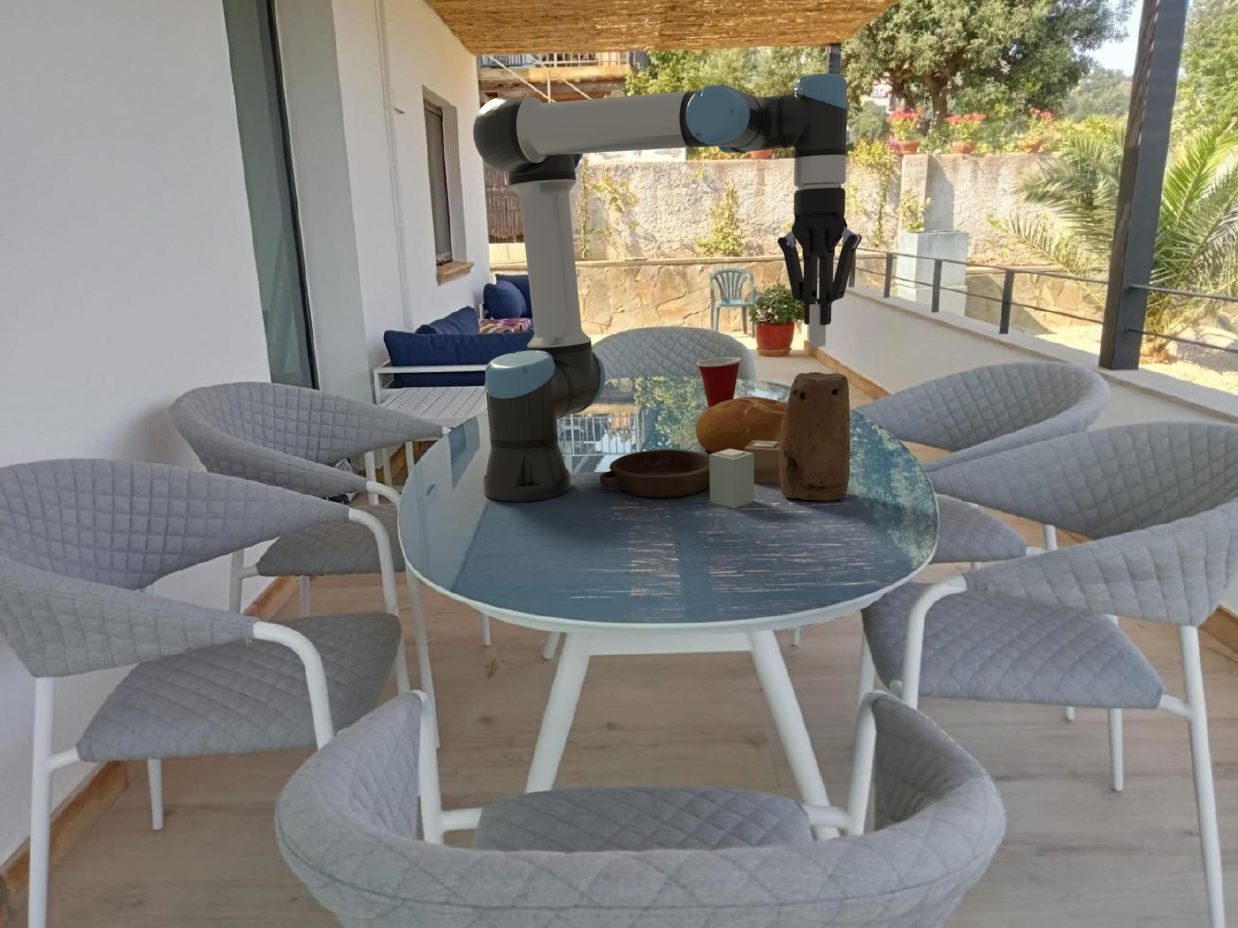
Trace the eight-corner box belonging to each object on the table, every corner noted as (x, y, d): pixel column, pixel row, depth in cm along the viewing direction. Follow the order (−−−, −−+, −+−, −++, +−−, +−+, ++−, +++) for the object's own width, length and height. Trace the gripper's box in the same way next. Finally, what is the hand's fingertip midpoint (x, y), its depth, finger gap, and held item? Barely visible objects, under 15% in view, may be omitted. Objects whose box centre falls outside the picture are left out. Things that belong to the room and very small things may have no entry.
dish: (602, 477, 160) (601, 450, 158) (723, 473, 159) (723, 446, 158) (597, 506, 143) (596, 476, 142) (733, 502, 142) (733, 472, 141)
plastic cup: (696, 404, 220) (695, 356, 217) (739, 403, 220) (739, 355, 217) (697, 413, 210) (696, 363, 207) (743, 411, 209) (742, 362, 206)
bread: (806, 466, 161) (807, 413, 158) (683, 460, 169) (682, 409, 166) (820, 437, 182) (821, 390, 179) (710, 433, 189) (710, 388, 187)
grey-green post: (733, 508, 138) (733, 457, 136) (710, 502, 142) (709, 452, 140) (753, 501, 141) (753, 451, 139) (730, 495, 145) (729, 446, 143)
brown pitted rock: (844, 489, 145) (848, 370, 140) (850, 503, 138) (854, 378, 133) (778, 489, 147) (779, 371, 142) (780, 503, 140) (781, 379, 135)
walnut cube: (778, 484, 150) (778, 448, 149) (744, 481, 153) (744, 446, 151) (785, 474, 156) (786, 440, 154) (752, 472, 158) (752, 438, 156)
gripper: (871, 185, 129) (867, 344, 135) (791, 190, 137) (790, 341, 143) (851, 184, 123) (847, 351, 129) (768, 190, 131) (768, 347, 137)
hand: (817, 346), depth 136 cm, fingers closed
